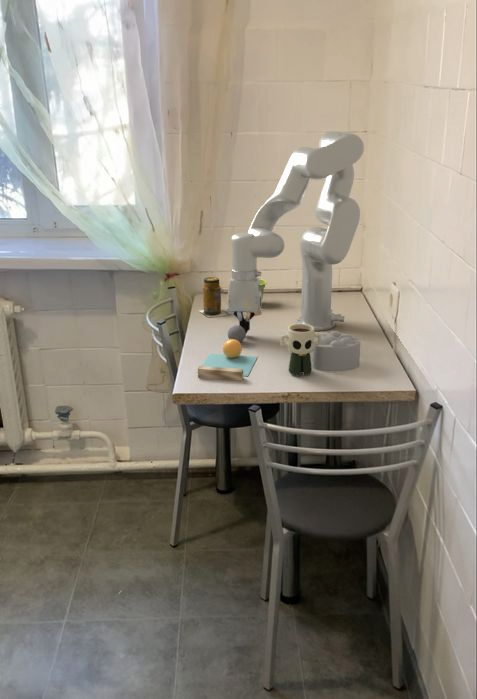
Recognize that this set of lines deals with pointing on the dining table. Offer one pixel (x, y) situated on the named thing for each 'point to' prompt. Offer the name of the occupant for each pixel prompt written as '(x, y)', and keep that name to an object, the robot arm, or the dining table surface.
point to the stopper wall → (220, 373)
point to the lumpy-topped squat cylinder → (336, 352)
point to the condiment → (212, 298)
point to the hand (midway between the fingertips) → (244, 332)
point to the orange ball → (232, 348)
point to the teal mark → (231, 362)
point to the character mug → (300, 347)
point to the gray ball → (237, 333)
